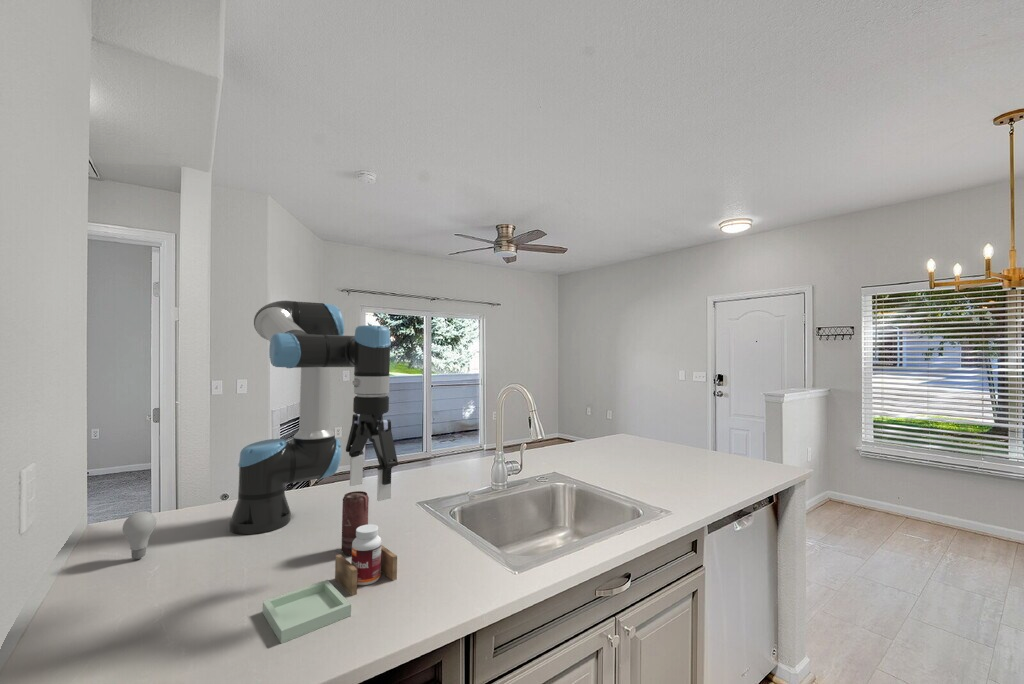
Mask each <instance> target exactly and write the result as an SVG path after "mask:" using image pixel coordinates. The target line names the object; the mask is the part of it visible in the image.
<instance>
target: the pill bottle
mask: <svg viewBox="0 0 1024 684" xmlns="http://www.w3.org/2000/svg"><path fill="white" fill-rule="evenodd" d="M381 545H382V537H380V536H379V526H378V525H377V524H369V523H368V525H363V526H360V527H358V528H357V529H356V538H355V539H354V540H353V542H352V556H351V562H350V563H351V564H352V565H353V566H354V567H355V568H357V586H369V585H372V584H374V583H376V582H377V581H379V579H380V578H381V573H382V572H381Z"/></svg>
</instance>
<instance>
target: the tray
mask: <svg viewBox="0 0 1024 684" xmlns="http://www.w3.org/2000/svg"><path fill="white" fill-rule="evenodd" d="M262 614H263V615H264V617H265V619H266V622H267V623H268V624H269V626H270V627H271V629H272V631H273V633H274V634H275V636H276V637H277V639H278V641H279V642H280V644H284V643H286V642H289V641H291V640H294V639H296V638H298V637H302V636H304V635H306V634H309V633H311V632H314V631H316V630H319V629H321V628H323V627H326V626H328V625H331V624H334V623H336V622H340V621H341V620H344V619H346V618H349V617H351V615H352V604H351V602H349V601H348V600H347V599H346V598H345V596H344V595H342V593H341V592H340V591H339V590H338V589H337V588H336V587H334V585H333V584H332V583H331V582H330V581H329V580H328V579H326V580H323V581H320V582H319V581H318V582H317V583H314V584H310V585H308V586H303V587H301V588H298V589H296V590H292V591H289V592H286V593H284V594H281V595H278V596H275V597H272V598H269V599H266V600H263V601H262Z"/></svg>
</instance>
